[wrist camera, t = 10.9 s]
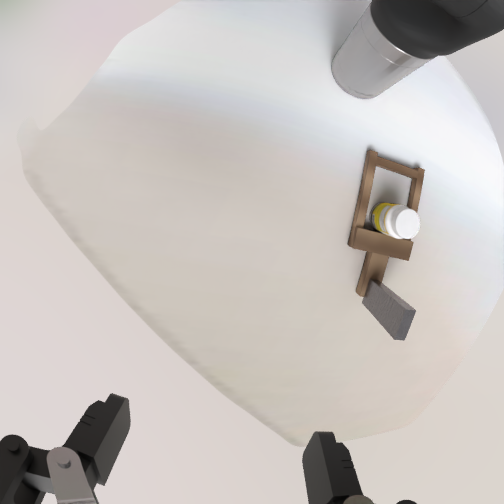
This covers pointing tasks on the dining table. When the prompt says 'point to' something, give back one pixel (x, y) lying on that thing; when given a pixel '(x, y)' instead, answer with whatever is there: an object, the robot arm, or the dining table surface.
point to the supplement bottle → (395, 220)
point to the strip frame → (383, 251)
